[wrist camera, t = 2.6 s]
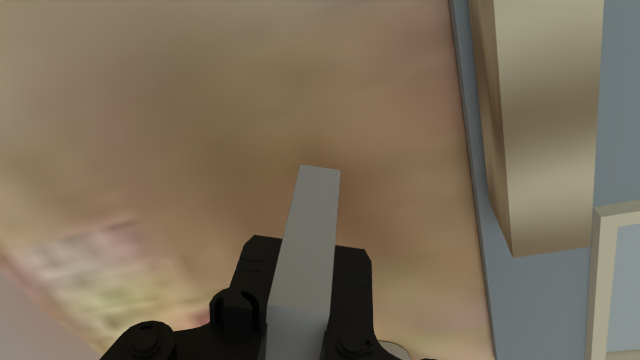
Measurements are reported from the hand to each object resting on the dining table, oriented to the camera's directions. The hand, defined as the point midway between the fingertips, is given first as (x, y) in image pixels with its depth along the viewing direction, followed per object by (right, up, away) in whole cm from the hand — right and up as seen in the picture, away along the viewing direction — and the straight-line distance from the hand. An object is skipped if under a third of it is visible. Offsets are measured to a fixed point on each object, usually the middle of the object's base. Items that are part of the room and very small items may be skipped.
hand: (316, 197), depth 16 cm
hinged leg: (+8, +6, +1) cm, 10 cm away
